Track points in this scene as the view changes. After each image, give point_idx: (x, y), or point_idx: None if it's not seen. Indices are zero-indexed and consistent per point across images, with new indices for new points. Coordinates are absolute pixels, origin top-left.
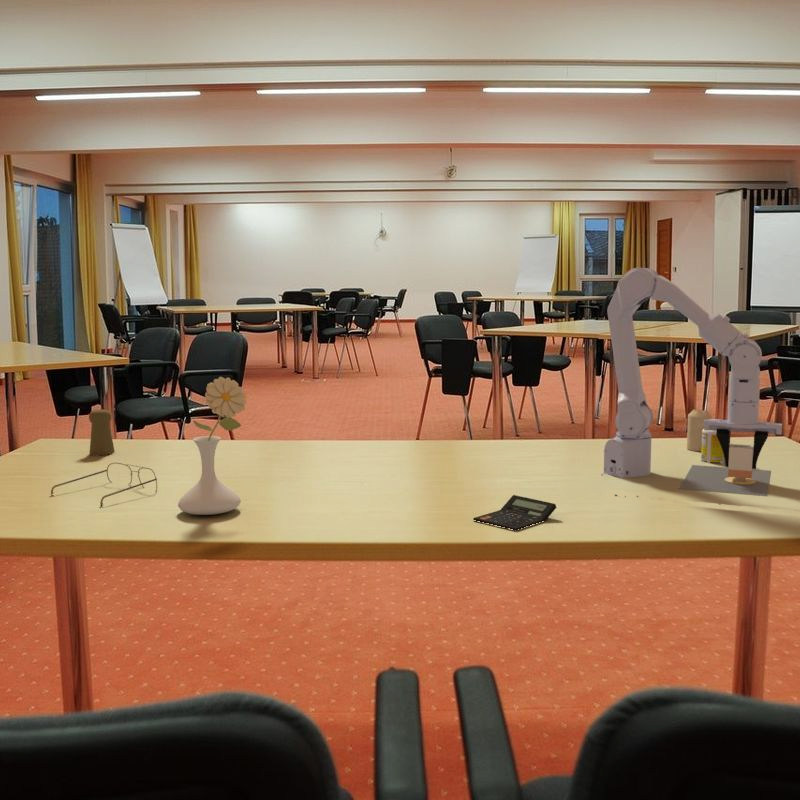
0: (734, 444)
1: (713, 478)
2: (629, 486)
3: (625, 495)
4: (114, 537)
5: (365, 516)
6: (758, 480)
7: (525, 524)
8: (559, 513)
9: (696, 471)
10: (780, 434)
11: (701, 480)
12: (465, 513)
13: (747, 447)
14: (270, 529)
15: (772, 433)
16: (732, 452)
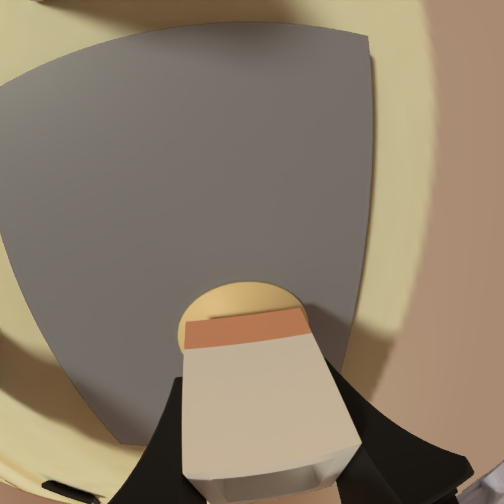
0: (217, 478)
1: (132, 337)
2: (18, 402)
3: (64, 446)
4: (3, 482)
5: (13, 475)
6: (317, 290)
7: (96, 502)
8: (81, 485)
9: (23, 234)
10: (475, 481)
11: (113, 375)
12: (36, 478)
13: (310, 448)
14: (17, 484)
15: (457, 496)
16: (227, 482)
